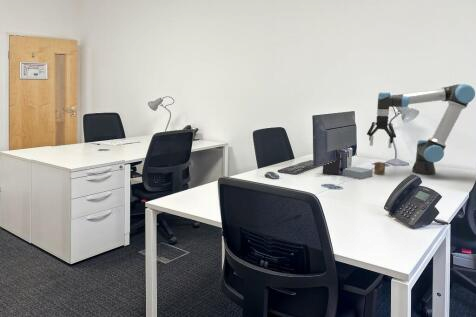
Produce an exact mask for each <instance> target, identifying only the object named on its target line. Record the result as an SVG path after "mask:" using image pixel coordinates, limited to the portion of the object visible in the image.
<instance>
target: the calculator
mask: <svg viewBox="0 0 476 317" xmlns="http://www.w3.org/2000/svg"><path fill="white" fill-rule="evenodd" d="M340 158H341V153H337V160H336V161H335V162H332V163H329V164H326V165H323V164H322V174H323V175H332V176H333V175H335V176H340V170H341V169H340Z"/></svg>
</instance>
